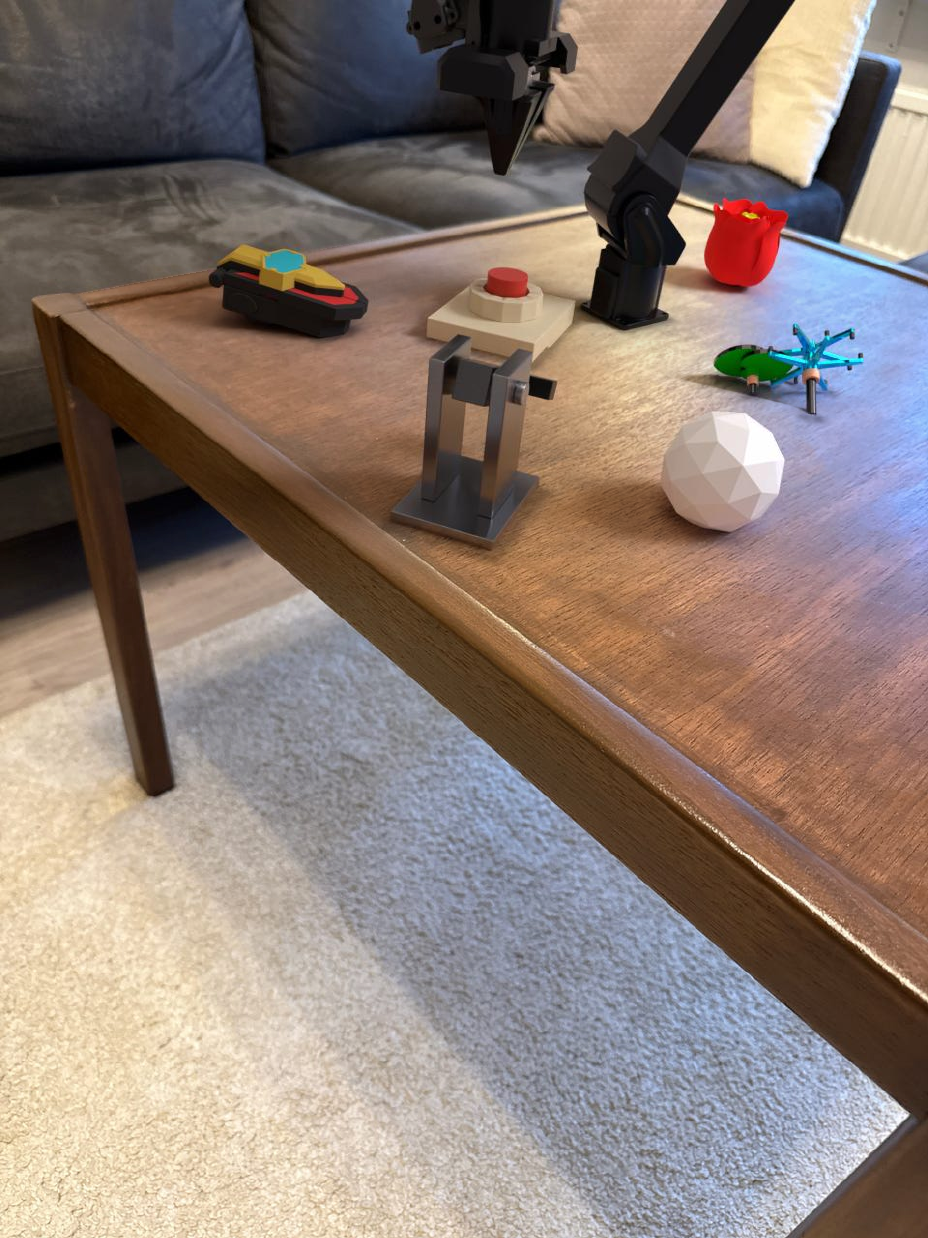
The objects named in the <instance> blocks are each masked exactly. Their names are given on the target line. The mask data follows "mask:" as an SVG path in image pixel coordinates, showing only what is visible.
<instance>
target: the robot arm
mask: <svg viewBox="0 0 928 1238" xmlns="http://www.w3.org/2000/svg"><path fill="white" fill-rule="evenodd" d="M795 2H796V0H725V2H724V4H723V5H722V7H721V8H720V9H719V11H718V13H717V14H716V15H715V18H714V19H713V20H712V21H711V23H710V25H709V26H708V28H707V30H706V31H705V32H704V33H703V36H702V37H701V38H700V40H699V42H698V43H697V44H696V46H695V48H694V49H693V51H692V52H691V53H690V55H689V57H688V58H687V60H686V61H685V63H684V65H682V67H681V69H680V70H679V72H678V73H677V75H676V76H675V78H674V79H673V81H672V82H671V84H670V86H669V87H668V88H667V90H666V92H665V93H664V95H663V96H662V98H661V99H660V101H659V102H658V104H657V105H656V107H655V108H654V110H653V111H652V113H651V115H649V117H648V119H647V120H646V121H645V122H644V123H643V124H642V125H641V126H640V127H638V128H637V129H636V130H635V131H633V132H632V133H630V134H629V135H628V136H627V135H626V134H624V133H623V132H621V131H620V130H618V129H613V130H612V131H611V133H610V134H609V135H608V137H607V139H606V142H605V144H604V146H603V148H602V150H601V152H600V154H599V155H598V156H597V157H596V159H595V160H594V161H593V162H592V163H590V164H589V165H588V166H587V167H586V171H587V172H588V173H590V174H589V176H588V178H587V180H586V182H585V185H584V188H583V197H584V206H585V209H586V211H587V214H588V215H589V216H590V217H591V218H592V219H593V220H594V221H595V225H596V232H597V236H598V237H599V238H601V239H603V240H604V241H605V242H606V243H607V244H606V245H605V248H601V249H600V254H599V258H598V259H599V260H598V266H597V267H596V268H595V272H594V277H593V282H592V283H593V284H592V289H591V290H592V291H591V295H590V300H584V301H581V302H580V303H579V309H581V310H583V311H584V312H587V313H589V314H591V315H593V316H595V317H597V318H599V319H600V320H602V321H605V322H607V323H609V324H611V325H613V326H615V327H617V328H619V329H621V330H631V329H634V328H638V327H642V326H646V325H647V326H648V325H651V324H654V323H655V324H656V323H658V322H659V323H660V322H663V321H666V320H669V318H670V313H668V312H667V311H664V310H662V309H660V308H659V304H660V300H661V295H662V291H663V286H664V283H665V276H666V273H667V267H668V266H676V265H677V263H678V262H679V260H680V258H681V256H682V254H683V252H684V251H685V249H686V247H687V242H686V240H685V238H684V237H683V236H682V234H681V233H680V232H679V230H678V229H677V227H676V226H675V224H674V223H673V221H672V219H671V218H670V217H669V215H670V213H671V210H672V209H673V207H674V205H675V203H676V201H677V199H678V197H679V195H680V194H681V193H680V192H681V189H682V184H683V181H684V176H685V172H686V168H687V165H688V164H687V163H688V159H689V157H690V155H691V153H692V151H693V150H694V149H695V147H696V145H698V143H699V141H701V138H702V137H703V135H704V134H705V132H706V131H707V130H708V128H709V126H710V125H711V124H712V123H713V121H714V120H715V118H716V116H718V113H720V110H721V109H722V107H723V106H724V105H725V103H726V102H727V100H729V98H730V96H731V95H732V93H733V92H734V90H735V89H736V87H737V86H738V84H739V83H740V82H741V80H742V79H743V77H744V76H745V74H746V73H747V72H748V70H749V68H750V67H751V65H752V64H753V63H754V62H755V60H756V59H757V58H758V56H759V54H760V53H761V51H762V50H763V48H764V47H765V45H766V44H767V42H768V41H769V40H770V38H771V37H772V35H773V34H774V32H775V31H776V29H777V28H778V27H779V25H780V23H781V22H782V21H783V20H784V18H785V16H786V15H787V14H788V12H789V10H790V9H791V8H792V7H793V5H794V3H795ZM555 3H556V0H411V2H410V9H408V10H407V11H406V13H407V17H408V19H407V20H408V21H407V23H405V29H406V32H407V34H408V35H410V36H413V37H414V39H415V40H416V45H417V48H418V55H423V54H427V53H430V52H434V51H437V50H440V49H444V48H447V47H449V48H448V49H447V50H445V51H444V53H443V54H442V55H441V56H440V57H439V58H438V59H437V60H436V75H435V78H436V79H435V89H437V90H439V91H443V92H450V93H456V94H460V95H461V94H462V95H467V96H472V97H473V98H474V99H475V101H476V102H477V104H479V106H480V107H481V109H482V114H483V117H484V123H485V128H486V134H487V141H488V146H489V152H490V158H491V164H492V166H491V167H492V172H493V174H494V175H497V176H500V177H501V176H502V177H505V176H507V175H509V173H510V171H511V169H512V167H513V165H514V163H515V161H516V159H517V157H518V155H519V154H520V152H521V150H522V148H523V146H524V144H525V141H526V140H527V138H528V136H529V134H530V132H531V130H532V129H533V127H534V125H535V123H536V121H537V119H538V117H539V116H540V113H541V112H542V110H543V108H544V107H545V105H546V103H547V101H548V99H549V97H550V95H551V93H552V92H553V91H554V90H555V88H556V84H555V83H553V82H548V81H543V80H540V76H541V71H537V70H536V68H537V66H538V67H544V68H554V69H559V73H560V74H562V75H569V74H571V73H573V72H575V71H576V65H577V59H578V58H577V57H578V50H579V46H578V44H577V43H576V41H575V39H574V38H573V37H572V34H571V33H569V32H563V31H556V30H552V29H553V19H554V12H555ZM461 40H464V43H462V44H459V45H455V46H453V45H454V43H455V42H458V41H461Z"/></svg>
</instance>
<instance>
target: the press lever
mask: <svg viewBox="0 0 928 1238" xmlns="http://www.w3.org/2000/svg"><path fill="white" fill-rule="evenodd" d="M500 366H501V365H499V364H495V363H491V362H487V361H483V360H479V359H475V358H474V359H473V358H470V359H459V364H458V368H457V373H456V378H455V383H454V387H453V392H452V397H451V398H452V399H455V400H459V401H462V402H466V404H471V405H474V406H478V407H481V408H489V403H490V394H491V384H492V375H493V373H494V372H495V371H496V370H497V369H498V368H499V367H500ZM557 385H558V381H557V380H556V379H551V378H546V377H544V376H543V377H542V376H539V375H536V374H531V373H530V377H529V393H528V396H529V397H533V398H538V399H541V400H545V401H554V397H555V394H556V391H557V390H556V389H557Z"/></svg>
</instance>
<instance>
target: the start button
mask: <svg viewBox="0 0 928 1238" xmlns="http://www.w3.org/2000/svg"><path fill="white" fill-rule="evenodd" d="M487 277H488V278H487ZM487 277H486V278H487V288H486V292H488V293H489V294H491V295H494V296H499V297H503V298H520V297H525V296H526V291H527V283H528V282H529V274H528V273H526V271H523V270H521V269H519V268H514V267H510V266H509V267H507V266H499V267H493V268H491V269H489V270H488V272H487Z"/></svg>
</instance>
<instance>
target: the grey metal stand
mask: <svg viewBox="0 0 928 1238" xmlns="http://www.w3.org/2000/svg"><path fill="white" fill-rule="evenodd" d="M471 342H472V337H469V336H465V335H460V334H457V335H456V336H455V337H454V338H452V339H451V340H450V341H449V342H446V343H445V344H444V345H443V346H442V347H440V348H439V349H438V350H437V351H436V352H435V353H434V354H432V355H431V356H430V357H429V359H428V371H427V373H428V375H427V390H426V406H425V421H424V422H425V424H424V437H423V438H424V440H423V453H422V455H423V456H422V469H421V470H422V471H421V478H420V480H418V482H416V483H415V485H414V486H413V487H412V488H411V489H409V491H408V492H407V493H406V494H405V495H404V497H403V498H402V499H401V500H400V501H398V503H397V504H396V505H395V506H394V507H393V508H392V509H391V510H390V521H391V522H395V523H399V524H401V525H405V526H408V527H410V528H411V527H412V528H414V529H418V530H422V531H425V532H428V533H432V534H435V535H438V536H441V537H445V538H448V539H452V540H455V541H457V542H462V543H465V544H468V545H471V546H474V547H478V548H481V549H484V550H488V551H494V550H495V548H496V547H497V545H498V543H499V542H500V541H501V539H502V538H503V537H504V536H505V534H506V532H507V531H508V529H509V528H510V527H511V525H512V524H513V523H514V522H515V520H516V518H517V517H518V516H519V514H520V513H521V512H522V510H523V509H524V508H525V506H526V504H527V503H528V501H529V500H530V499H531V497H532V496H533V495H534V493H535V492H536V491H537V489H538V488H539V486H540V479H541V477H540V476H538V475H535V474H531V473H527V472H523V471H520V470H518V466H519V461H520V460H519V459H520V451H521V443H522V436H523V429H524V421H525V414H526V406H527V400H528V396H529V395H528V393H529V377H530V374H531V369H532V363H533V362H532V355H533V352H531V351H527V350H523V349H517V350H516V351H515V352H514V353H513V354H512V355H511V356H510V357H508V358H507V359H506V360H505V361H504V362H503V363H502V364H501V365H499V366H500V367H499V368H498V369H497V370H496V371H495V372H494V373H493V375H492V384H491V394H490V403H489V407H488V413H487V423H486V432H485V433H486V434H485V442H484V451H483V460H479V459H476V458H473V457H469V456H466V455H462V454H463V453H462V452H463V441H464V431H465V420H466V419H465V418H466V407H467V403H466V402H462V401H459V400H455V399H452V398H451V397H452V392H453V387H454V383H455V378H456V373H457V368H458V364H459V359H471V352H472V348H471Z"/></svg>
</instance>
